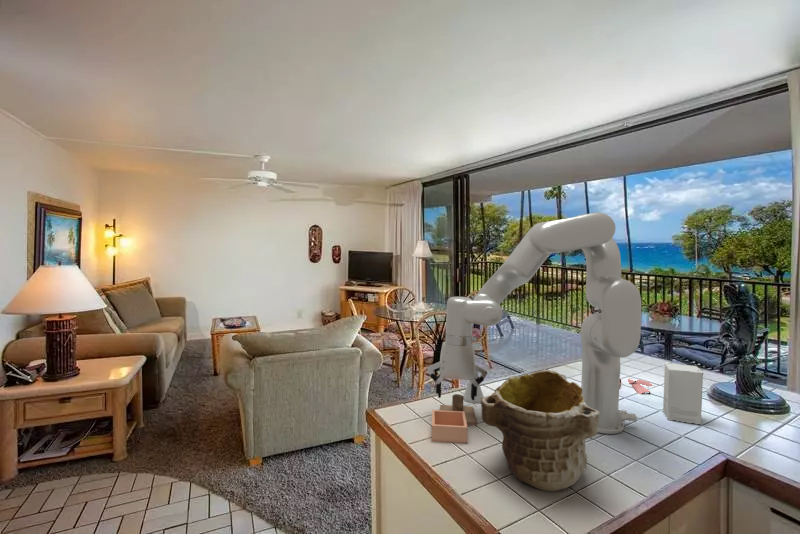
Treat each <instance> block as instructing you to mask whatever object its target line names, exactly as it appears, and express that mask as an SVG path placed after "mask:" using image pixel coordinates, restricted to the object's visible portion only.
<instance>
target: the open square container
mask: <svg viewBox="0 0 800 534" xmlns="http://www.w3.org/2000/svg"><path fill="white" fill-rule="evenodd" d="M431 442H437V443H456V444H457V443H458V444H468V425H467V422H466V417H465V412H464V411H444V410H440V409H432V410H431Z"/></svg>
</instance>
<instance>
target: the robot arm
mask: <svg viewBox="0 0 800 534" xmlns="http://www.w3.org/2000/svg"><path fill="white" fill-rule="evenodd" d="M616 230H617V229H616V224H615V221H614V219H613V218H612V217H611V216H610V215H608V214H607V213H603V212H597V211H596V212H591V213H586V214H585V213H584V214H579V215H576V216H573V217H567V218H561V219H557V220H548V221H543V222H538V223H536V224H534V225H533V226H532V227H531V228H530V229H529V230H528V232H526V234H525V235H524V236H523V238H522V239H521V241H520V242H519V243H518V244H517V246H516V247H515V248H514V250H513V251H512V253H511V254H510V255H509V256H508V257H507V259H506V260H505V261H504V262H503V264H502V265H500V266H499V267H498V268H497V270H495V272H494V273H493V274H492V275H491V276H490V277H489V279H488V280H486V281H485V283H484V284H483V286H482V287H481V288H480V290H479V291H478V292H477V294H476V295H475V296H474V298H473V299H471V298H470V297H467V296H451V297H449V298H448V299H447V302H446V317H445V319H446V321H445V322H446V323H445V341H443V342H442V344H441V350H440V356H439V357H440V358H439V361H438V362H435V363H433V364H431V365H429V366H427V372H428V374H429V376H430V378H431V380H433V381H434V382H435V387H436V388H435V394H437V397H438V398H439V399H440V398H441V397H442V381H443V380H444V379H447V380H459V381H461V380H462V381H469V380H470V381H471V382H472V384H471V399H472V400H474V397H475V396H477V387H478V385H479V384H480V385H481V383H483V382H484V380H485V379H486V377H487V375H488V370H486V369H485V368H483V367H482V366H480V365H478V364H476V356H475V355H476V353H475V345H474V343H473V342H477V341H478V337H477V336H475V335H473V324H475V325H480V326H484V327H492V326H495V325H497V324H499V323H500V322H501V320H502V318H503V308H502V307H501V305H500V304H501V303H503V301H504V300H505V299H506V298H507V296H508V295H509V294H510V293H511V292H513V291H514V290H515V289H517V288H519V287H521V286H523V285H525V284H526V283H528V282H529V281H530V280H532V278H533V277H534V275H535V274H536V273H537V272H538V270H539V269H540V268H541V266H542V265H543V264H544V263H545V261H546V260H547V259H548V257H549V256H550V255H551V254H559V253H565V252H571V251H577V250H581V251H582V252H583V254H584V257H585V264H586V270H585V271H586V273H585V274H586V277H585V282H586V283H585V298H586V300H587V302H588V303H589V304H590V305H591V306H592V307H593V308H596V309H598V310H601V312H597V313H596V312H595V313H592V314H590V315H588V316H586V317H585V318H584V320H583V321H582V322H581V323H582V324H581V326H580V339H581V349H582V351H581V353H582V355H581V357H582V359H581V362H582V364H581V380H580V381H581V382H580V384H581V386H580V387H581V388H582V389H583V391H582V396H584V399H585V401H584V402H585V403H586V405H587V406H589V407H591V408H592V409H595V410H597V411H598V412H599V413H600V415H599V422H598V432H597V434H598V433H599V434H606V435H613V434H614V435H616V434H620V433H622V432H623V431H624V429H625V424H624V422H625V421H628V422H629V421H630V422H636V421H637V419H638V417H637V415H636V413H629V412H628V411H627V410H624V409H623V410H620V409H619V405H620V404H619V403H620V401H619V400H620V388H619V385H620V386H621V384H620V383H621V381H620V378H621V358H627V357H629V356H632V355H634V353H635V352H636V351H637V349H638V347H639V345H640V341H641V330H642V297H641V294H640V291H639V289H638V288H637V287H636V286H635V284H634V283H633V282H631V281H629V280H627V279H624V278H623V277H622V263H621V261H622V258H621V252H620V249H619V246H618V244H617V242H616V240H615V239H614V236H615V233H616ZM437 369H439V374H438V375H437V374H436V373H435V372H434V370H437ZM475 370H477V371H479V373H480V374H479V375H478V378H477V379H476V378H475Z"/></svg>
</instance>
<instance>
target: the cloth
mask: <svg viewBox="0 0 800 534" xmlns="http://www.w3.org/2000/svg"><path fill="white" fill-rule="evenodd" d="M630 379H631V378H629V379H628V382H629V384H628V385H631V387H632V389H633V388H634V389H633V390H635V391H636V392H635V391H634V392H635V393H636V394H638V393H639V395H642V393H645V392H649V393H650V394H651V391H650V390H649V389H647V387H644V386H641V385H640V384H642V385H646V386H654V385H652V384H653V383H652V384H650V383H651V382H650V381H646V380H643V379H637V381H636V382H635V381H633V380H630ZM621 384H622V383H621V379H620V385H619V389H620V388H621Z"/></svg>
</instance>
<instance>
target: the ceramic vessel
mask: <svg viewBox="0 0 800 534" xmlns="http://www.w3.org/2000/svg"><path fill="white" fill-rule="evenodd" d="M582 391H583V389H582V388H581V386H580V384H578V383H576V382H574V381H572V382H569V381H568V380H567V376H566V375H564V374H561V373H559V372H558V371H555V370H546V369H545V370H544V369H543V370H538V371H534V372H532V373H530V374H529V373H528V374H526V373H525V374H523V375H512V376H509V378H508V379H507V380H504V381H503V382H502V383H501V385H499V386H498V387H497V388H496V389H495V390H494V392H492V393H491V394H490V395H486V396H484V397H482V398H481V403H480V404H481V405H480V406H481V419H482V421H483V423H484V424H486V425H488V426H490V427H495V428H497V429H498V430H499V431H500V432H501V433H502V435H503V436H502V444H501V446H502V447H501V449H502V452H503V455H504V458H505V460H506V462H507V465H508V468H509V470H510V472H511V474H512V475H513V476H514V477H516V478H517V480H518V481H520V482H524V483H525V484H527V485H530V486H532V487H533V488H536V489H538V490H541V491H547V492H556V491H561V490H565V489H567V488H569V487H571V486H573V485H575V484H576V483H577V482H578V481H579V479H580V477H581V476H582V474H583V473H584V472H585V470H586V468H587V464H588V460H587V459H588V458H587V457H588V456H587V452H586V451H587V450H586V440H587V439H591V438H594V437H596V435H597V436H598V422H599V415H600V413H599V412H598V411H597V410H595V409H592V408H591V407H589V406H587V405H586V403H585V402H584V401H585V399H584V396H582Z"/></svg>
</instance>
